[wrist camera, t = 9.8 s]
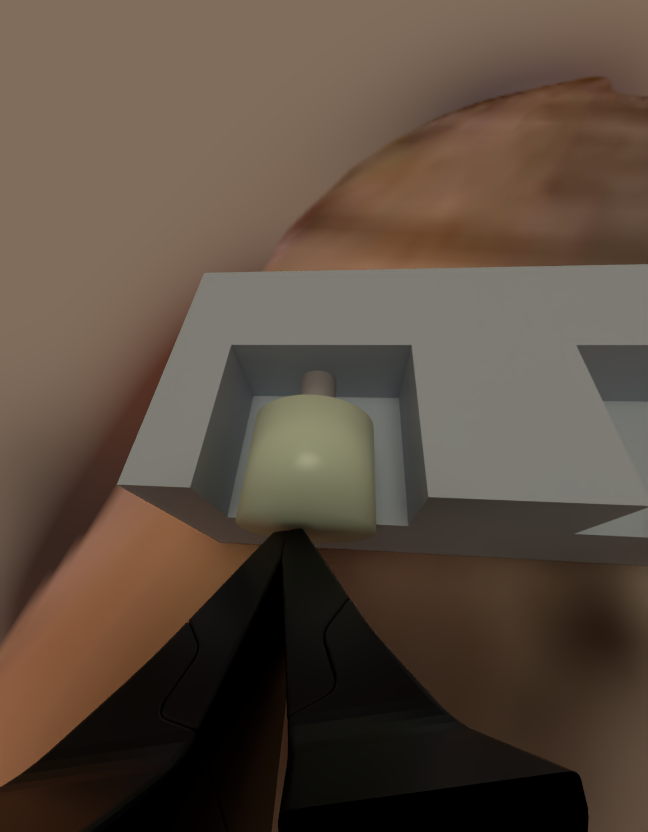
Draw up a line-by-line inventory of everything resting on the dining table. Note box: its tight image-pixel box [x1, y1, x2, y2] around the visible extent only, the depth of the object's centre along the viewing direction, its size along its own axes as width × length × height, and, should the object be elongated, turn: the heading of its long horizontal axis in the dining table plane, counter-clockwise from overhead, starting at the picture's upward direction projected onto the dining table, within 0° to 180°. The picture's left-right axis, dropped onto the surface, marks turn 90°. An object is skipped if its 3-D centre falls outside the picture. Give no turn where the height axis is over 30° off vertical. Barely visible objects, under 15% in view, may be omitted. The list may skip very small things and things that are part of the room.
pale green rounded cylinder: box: [235, 370, 376, 543], centre depth 10 cm, size 5×4×4 cm
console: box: [117, 264, 648, 566], centre depth 13 cm, size 9×32×8 cm, turn 87°
